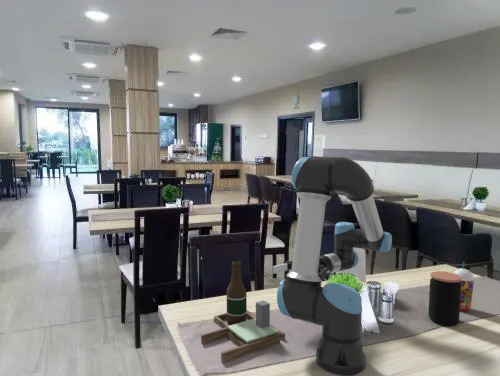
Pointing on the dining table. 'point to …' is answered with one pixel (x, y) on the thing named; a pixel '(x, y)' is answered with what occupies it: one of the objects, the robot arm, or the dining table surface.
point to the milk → (358, 266)
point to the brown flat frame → (243, 347)
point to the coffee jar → (444, 298)
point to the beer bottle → (236, 297)
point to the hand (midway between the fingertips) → (284, 274)
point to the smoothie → (465, 288)
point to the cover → (255, 324)
